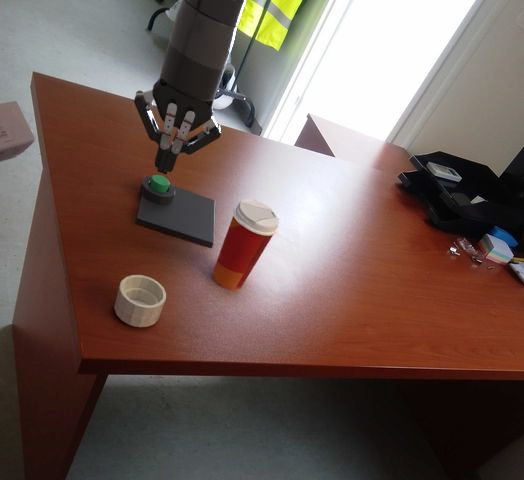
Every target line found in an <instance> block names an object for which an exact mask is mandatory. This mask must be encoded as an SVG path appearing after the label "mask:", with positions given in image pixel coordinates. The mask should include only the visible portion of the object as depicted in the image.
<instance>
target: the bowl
mask: <svg viewBox="0 0 524 480" xmlns="http://www.w3.org/2000/svg"><path fill="white" fill-rule="evenodd" d="M166 301H167V292H166V290H165V288H164V286H162V284H160V282H158V281H157V280H155V279H154V278H153V277H149V276H146V275H143V274H132V275H128V276H125V277H124V278H123V279H122V280H121V281H120V283H119V287H118V291H117V294H116V298H115V303H114V306H113V308H114V312H115V314H116V316H117V317H118V318H119V319H120V320H121V321H122V322H124V323H125V324H127V325H128V326H131V327H135V328H148V327H150V326H153V325H155V324H156V323H157V322H158V320H159V319H160V317H161V313H162V312H163V311H162V310H163V308H164V306H165V303H166Z"/></svg>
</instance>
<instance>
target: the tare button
mask: <svg viewBox="0 0 524 480" xmlns="http://www.w3.org/2000/svg"><path fill="white" fill-rule="evenodd" d="M151 177H152V179H151V183H150V187H151V188H152V189H154V190H155V191H158V192H162V193H166V192H167V189H168V186H169V183H170V180H169V179H168V178H166V177H165V176H163V175H161V174H153V175H152V176H151Z"/></svg>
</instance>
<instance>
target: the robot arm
mask: <svg viewBox="0 0 524 480" xmlns="http://www.w3.org/2000/svg"><path fill="white" fill-rule="evenodd" d="M246 2H247V0H181V2H180V5H179V6H178V10H177V12H176V15H175V18H174V22H173V25H172V27H171V30H170V36H169V40H168V45H167V48H166V51H165V55H164V59H163V64H162V67H161V71H160V74H159V78H158V79H157V81H156V82H154V84H153V86H152V89H150V90H146V91H142V90H137V91H136V92H135V96H134V98H133V103H134V105H135V109H136V111H137V112H138V115H139V117H140V120H141V122H142V124H143V127H144V129H145V132H146V134H147V137H148V138H149V140H150V141H152V142H155V143H156V144H157V145H158V147H157V151H156V155H155V158H154V167H155V168H157V171H156V172H158V173H161V174H163V175H168V172H169V173H172V172H173V171H174V168H175V165H176V162H177V159H178V156H179V155H180V154H186V155H187V156H191V155H192V154H194V153H196V152H197V151H199V150H201V149H203V148H205V147H207V146H208V145H210V144H211V143H213V142H215V141H216V140H218V139H220V138H221V136H222V129H221V125H220V124H219V123H217V122H216V120H215V118H214V107H213V105H214V101H215V98H216V96H217V93H218V90H219V87H220V85H221V81H222V78H223V76H224V72H225V71H226V70H225V69H226V67H227V63H228V61H229V58H230V55H231V52H232V49H233V46H234V41H235V39H236V38H235V37H236V33H237V29H238V25H239V23H240V19H241V17H242V14H243V11H244V7H245V5H246ZM153 101H154V102H153ZM154 103H155V106H156V109H157V112H158V115H159V117H160V120H161V121H162V122H163V125H162V126H163V127H162V131H161V130H160V128H159V127H158V123H157V122H156V119H155V117H154V114H153V111H152V109H153V105H154ZM203 125H204V126H203ZM201 126H203V130H201V131H200V132H198V133H195V135H193V136H191V137H189V138H188V139H187V137H188V134H189V133H190V132H193V131H195V130H197V129H198V128H200V127H201ZM173 128H176V132H175V134H174V137H173V139H172V142H171V137H172V132H173V130H174V129H173ZM170 142H171V145H170Z"/></svg>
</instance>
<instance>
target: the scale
mask: <svg viewBox="0 0 524 480" xmlns="http://www.w3.org/2000/svg"><path fill="white" fill-rule="evenodd" d="M151 179H152V176H148V175H146V176H145V177H143V178H142V180H141V185H140V188H139V193H140V194H141V197H140V200H139V206H138V209H137V214H136V218H135V222H134V224H135V225H139V226H142V227H145V228H148V229H151V230H155V231H157V232H159V233H163V234H166V235H170V236H172V237H175V238H179V239H182V240H185V241H188V242H191V243H194V244H196V245H197V244H198V245H201V246H204V247H207V248H209V249H212V248H213V246H214V244H215V217H216V216H215V214H216V210H215V209H216V200H215V199H212V198H210V197H207V196H203V195H201V194H198V193H196V192H193V191H190V190H187V189H184V188H182V187H179V186H176V185H173V184H172V183H170V182H169V186H168V189H167V192H166V193H162V192H158V191H155V190H154V189H152V188H151V187H150V183H151Z"/></svg>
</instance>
